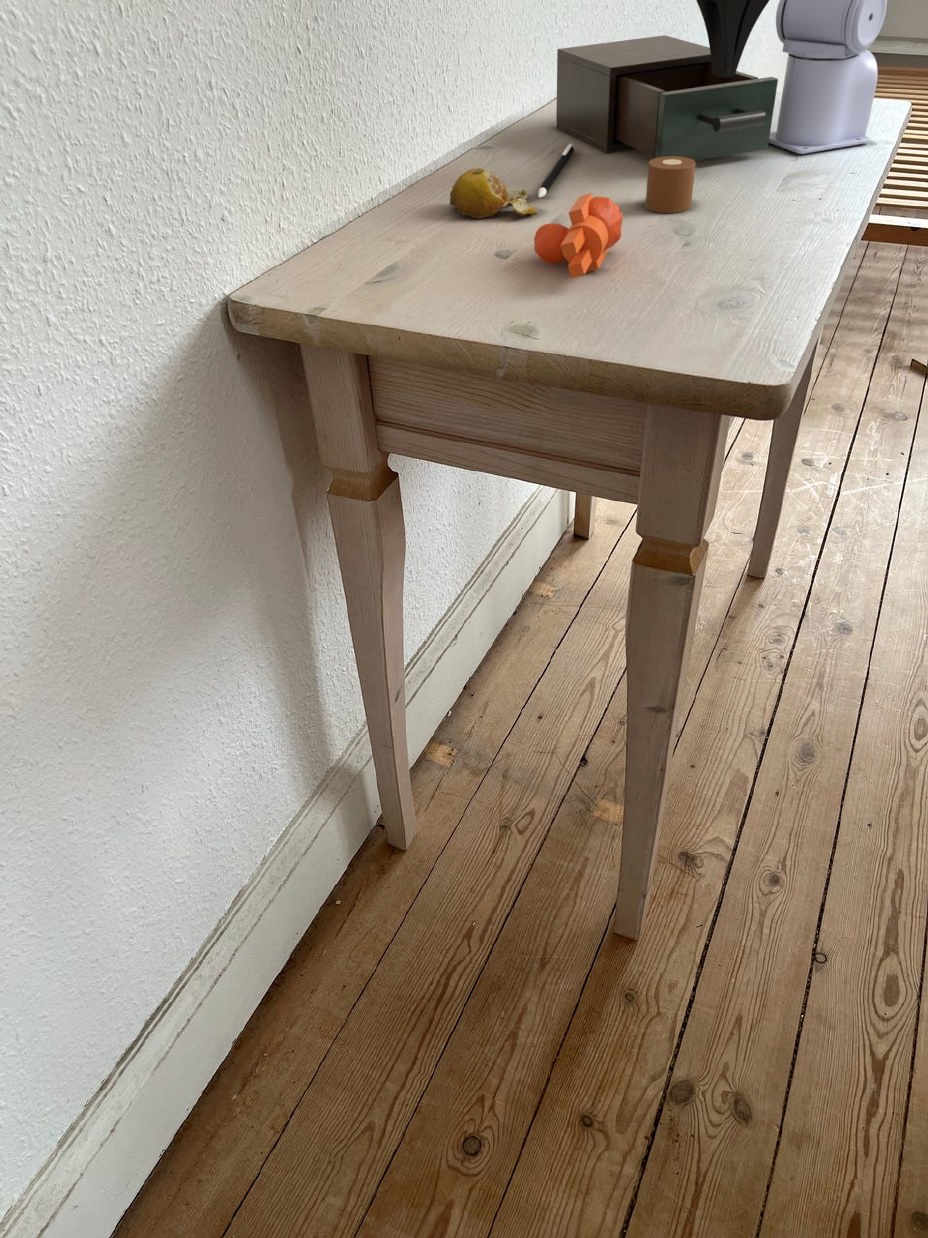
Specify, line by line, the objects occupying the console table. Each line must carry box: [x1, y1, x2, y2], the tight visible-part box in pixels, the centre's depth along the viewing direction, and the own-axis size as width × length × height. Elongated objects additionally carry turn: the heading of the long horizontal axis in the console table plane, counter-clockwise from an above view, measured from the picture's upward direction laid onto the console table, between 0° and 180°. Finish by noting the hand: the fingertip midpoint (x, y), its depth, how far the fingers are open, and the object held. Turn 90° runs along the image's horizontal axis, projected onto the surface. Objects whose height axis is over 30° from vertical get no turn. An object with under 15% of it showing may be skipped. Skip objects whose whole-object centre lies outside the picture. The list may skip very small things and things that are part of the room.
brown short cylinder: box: [644, 156, 696, 214], centre depth 91 cm, size 4×4×4 cm
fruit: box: [449, 167, 538, 220], centre depth 92 cm, size 8×8×4 cm
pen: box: [537, 143, 576, 199], centre depth 101 cm, size 1×19×1 cm, turn 165°
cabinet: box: [555, 35, 712, 154], centre depth 111 cm, size 14×15×9 cm
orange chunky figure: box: [533, 192, 624, 279], centre depth 80 cm, size 5×8×12 cm
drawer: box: [613, 63, 779, 162], centre depth 101 cm, size 17×13×7 cm
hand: (723, 75), depth 92 cm, fingers closed
